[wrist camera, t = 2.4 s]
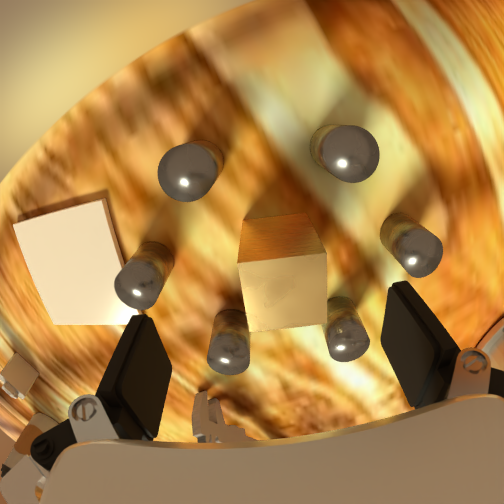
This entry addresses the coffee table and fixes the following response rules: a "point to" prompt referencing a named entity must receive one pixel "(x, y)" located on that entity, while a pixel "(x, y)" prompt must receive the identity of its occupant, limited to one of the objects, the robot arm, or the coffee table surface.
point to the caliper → (213, 423)
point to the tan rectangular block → (282, 273)
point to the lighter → (18, 377)
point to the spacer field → (234, 321)
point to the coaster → (75, 264)
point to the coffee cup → (27, 440)
